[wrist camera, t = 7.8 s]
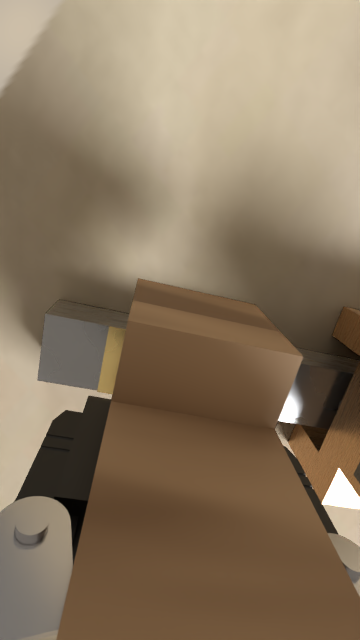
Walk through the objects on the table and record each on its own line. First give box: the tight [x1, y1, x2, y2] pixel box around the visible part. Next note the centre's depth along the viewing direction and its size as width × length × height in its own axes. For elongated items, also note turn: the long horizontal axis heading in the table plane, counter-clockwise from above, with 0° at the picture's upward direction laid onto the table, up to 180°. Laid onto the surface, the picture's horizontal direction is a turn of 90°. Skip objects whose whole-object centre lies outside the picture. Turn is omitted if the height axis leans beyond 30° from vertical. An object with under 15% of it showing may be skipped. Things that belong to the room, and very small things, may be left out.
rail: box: [38, 300, 360, 509], centre depth 13 cm, size 8×20×9 cm, turn 76°
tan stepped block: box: [56, 278, 360, 640], centre depth 8 cm, size 8×4×9 cm, turn 166°
